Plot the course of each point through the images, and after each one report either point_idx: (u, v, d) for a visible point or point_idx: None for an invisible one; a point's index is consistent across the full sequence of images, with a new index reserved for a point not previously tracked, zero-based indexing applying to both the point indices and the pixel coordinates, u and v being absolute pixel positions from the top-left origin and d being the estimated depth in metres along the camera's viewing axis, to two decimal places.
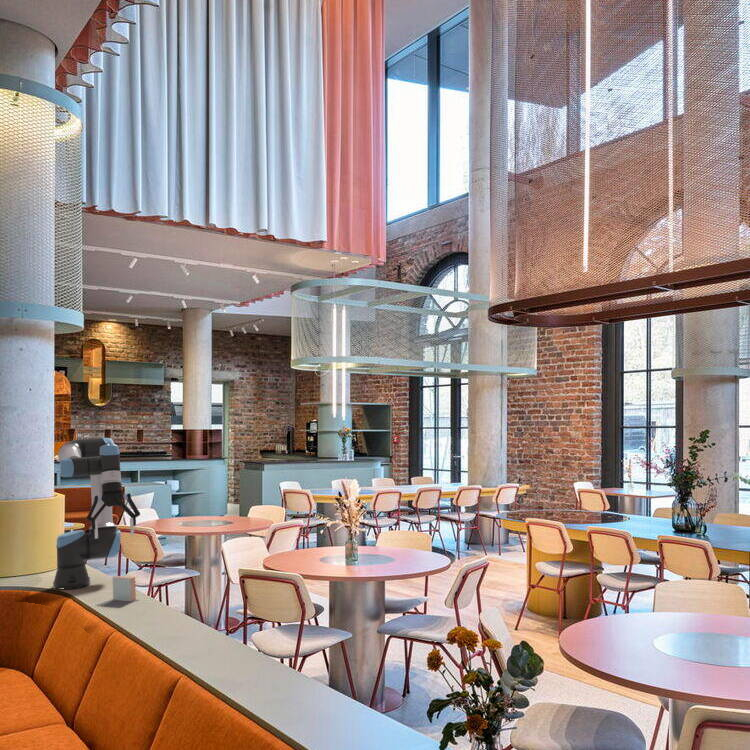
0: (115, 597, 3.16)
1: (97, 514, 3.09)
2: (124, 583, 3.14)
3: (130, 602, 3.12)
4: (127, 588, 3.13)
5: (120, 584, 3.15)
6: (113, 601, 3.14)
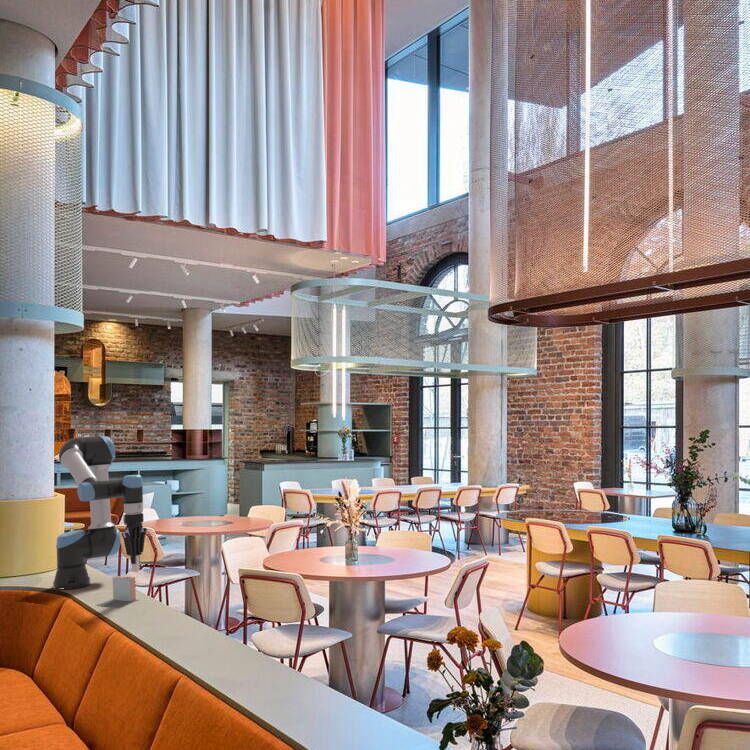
0: (115, 597, 3.16)
1: (135, 548, 3.21)
2: (124, 583, 3.14)
3: (130, 602, 3.12)
4: (127, 588, 3.13)
5: (120, 584, 3.15)
6: (113, 601, 3.14)
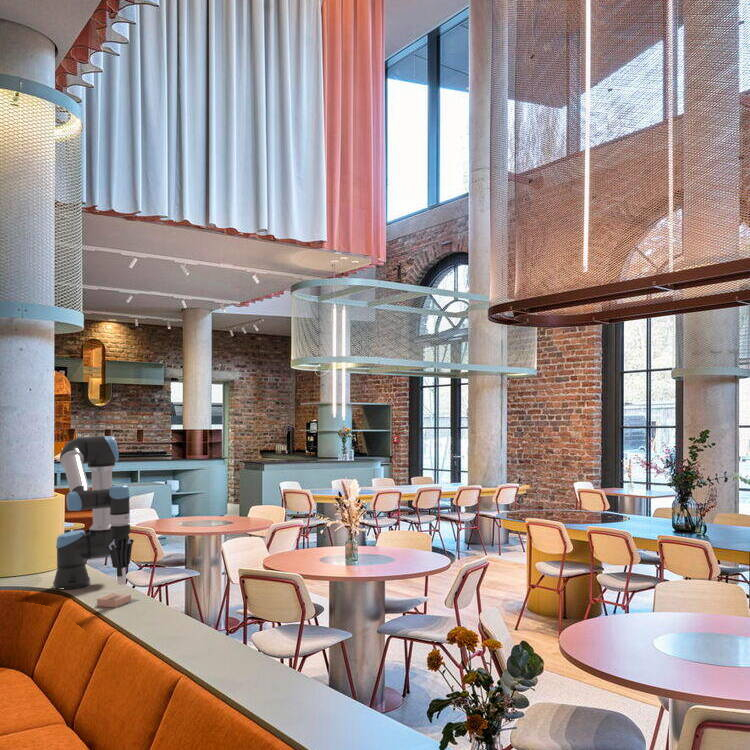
0: None
1: (121, 560, 3.13)
2: None
3: (130, 602, 3.12)
4: None
5: None
6: None
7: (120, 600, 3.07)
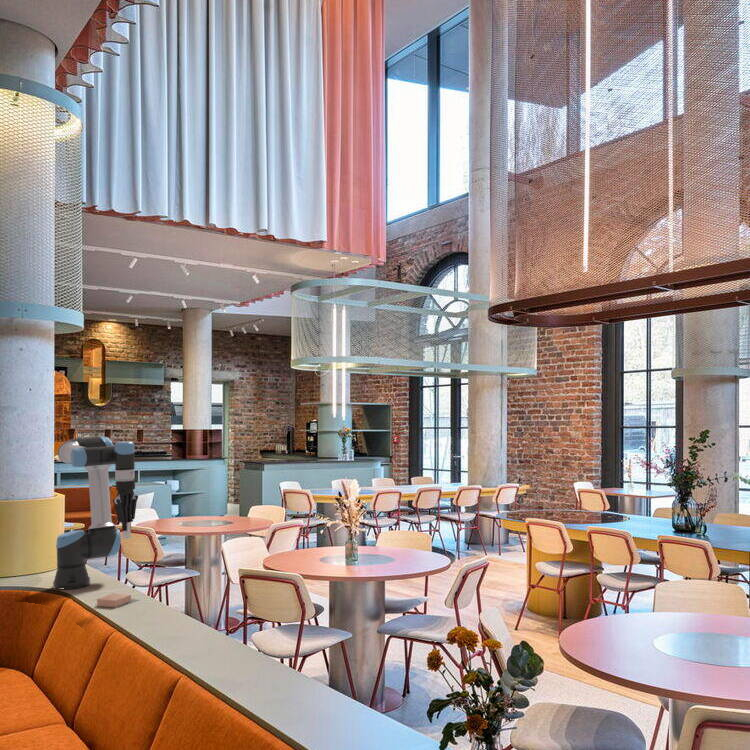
0: None
1: (126, 515, 3.19)
2: None
3: (130, 602, 3.12)
4: None
5: None
6: None
7: (120, 600, 3.07)
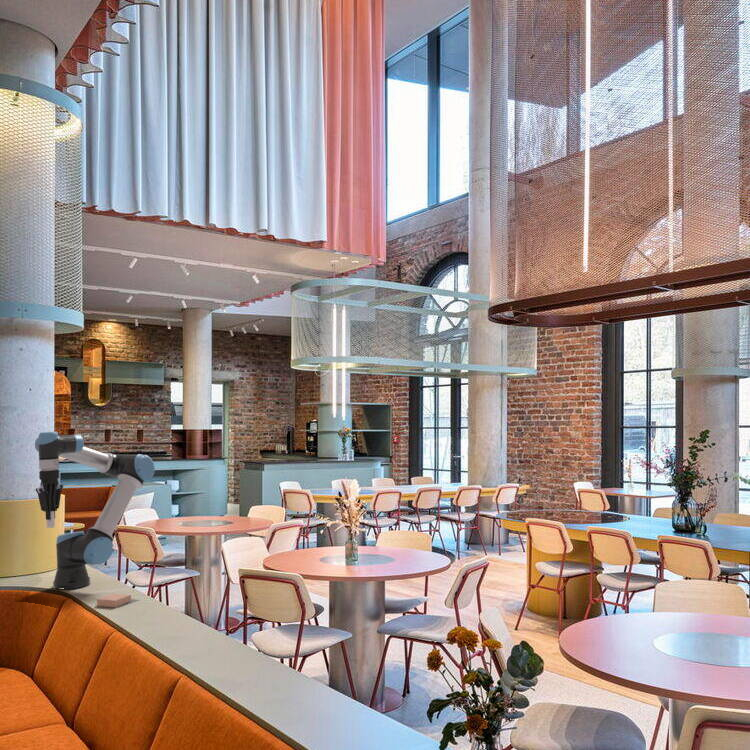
0: None
1: (50, 504, 3.23)
2: None
3: (130, 602, 3.12)
4: None
5: None
6: None
7: (120, 600, 3.07)
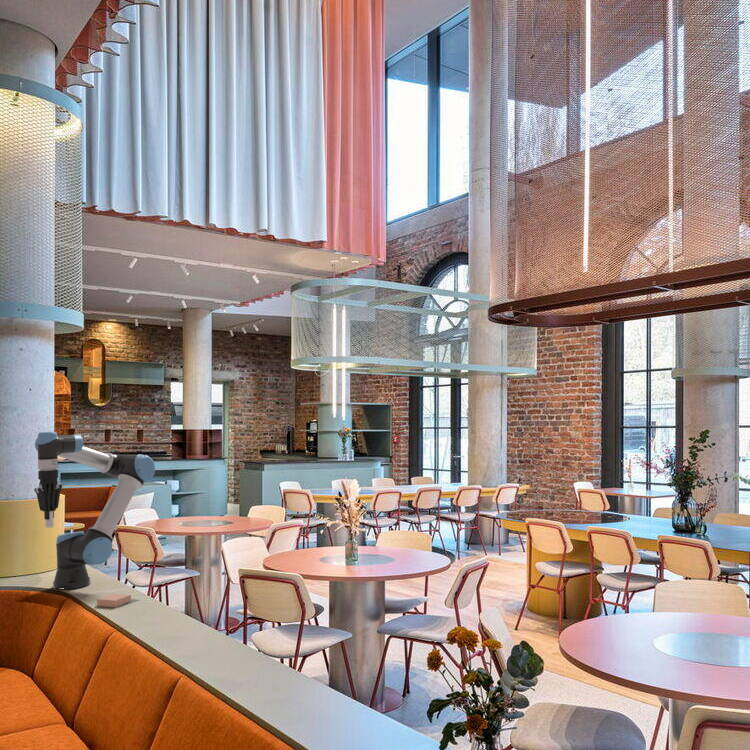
0: None
1: (48, 504, 3.23)
2: None
3: (130, 602, 3.12)
4: None
5: None
6: None
7: (120, 600, 3.07)
